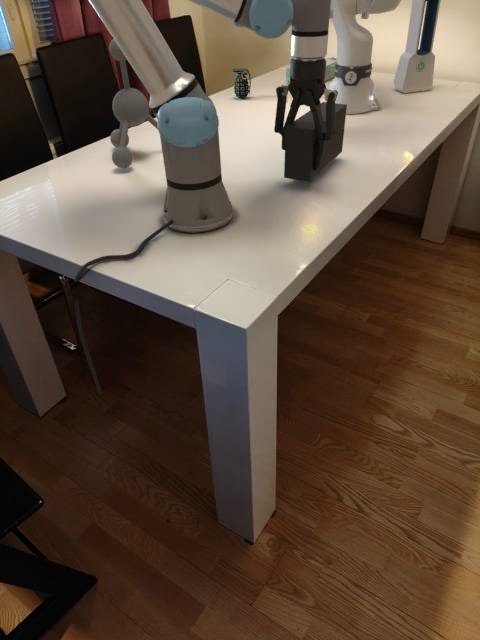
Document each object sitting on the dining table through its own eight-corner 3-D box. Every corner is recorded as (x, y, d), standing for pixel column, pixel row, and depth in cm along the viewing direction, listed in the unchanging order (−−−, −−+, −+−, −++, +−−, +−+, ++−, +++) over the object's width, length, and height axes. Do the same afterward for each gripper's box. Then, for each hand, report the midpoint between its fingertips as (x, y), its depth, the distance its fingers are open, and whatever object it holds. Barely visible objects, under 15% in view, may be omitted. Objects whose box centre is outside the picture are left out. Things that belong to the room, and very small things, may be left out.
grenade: (232, 99, 186) (230, 70, 180) (236, 95, 190) (234, 67, 184) (249, 99, 184) (248, 70, 178) (252, 96, 189) (251, 67, 182)
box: (309, 182, 114) (313, 130, 107) (284, 177, 116) (285, 126, 109) (342, 151, 130) (347, 104, 123) (319, 148, 133) (322, 101, 125)
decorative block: (308, 54, 216) (349, 57, 207) (307, 70, 220) (348, 74, 211) (277, 65, 200) (320, 69, 191) (277, 82, 204) (319, 87, 195)
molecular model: (194, 159, 136) (181, 36, 117) (116, 174, 130) (89, 47, 112) (172, 136, 153) (158, 26, 135) (102, 148, 148) (77, 35, 129)
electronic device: (402, 93, 181) (416, -3, 162) (392, 89, 186) (404, -5, 168) (432, 89, 183) (449, -6, 165) (421, 85, 189) (436, -8, 170)
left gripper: (359, 57, 101) (346, 167, 115) (273, 51, 108) (271, 155, 122) (347, 64, 95) (335, 178, 110) (258, 57, 103) (258, 164, 117)
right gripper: (398, -51, 116) (390, 17, 124) (317, -48, 124) (314, 16, 132) (391, -50, 111) (383, 20, 120) (308, -46, 119) (306, 19, 128)
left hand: (302, 165), depth 116 cm, fingers closed on box, 6 cm apart
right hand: (346, 18), depth 126 cm, fingers open, 8 cm apart
